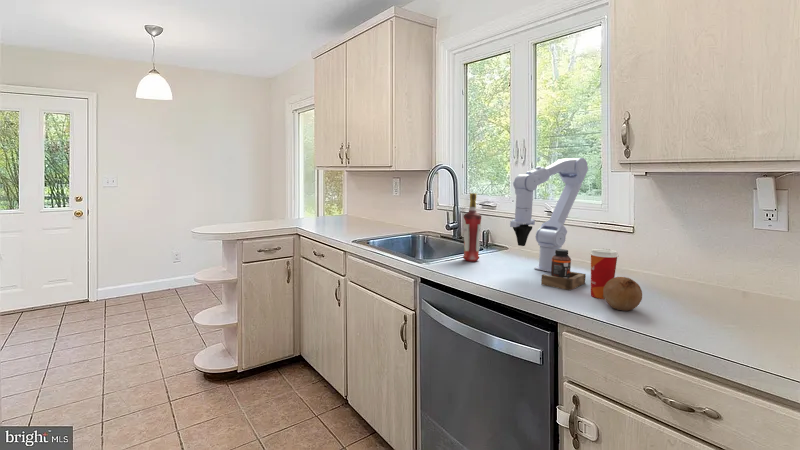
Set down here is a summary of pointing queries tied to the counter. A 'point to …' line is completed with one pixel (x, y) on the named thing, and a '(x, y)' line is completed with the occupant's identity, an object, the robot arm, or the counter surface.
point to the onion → (622, 293)
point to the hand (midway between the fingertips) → (521, 245)
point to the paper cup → (602, 270)
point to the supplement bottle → (561, 264)
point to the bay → (564, 281)
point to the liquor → (472, 231)
